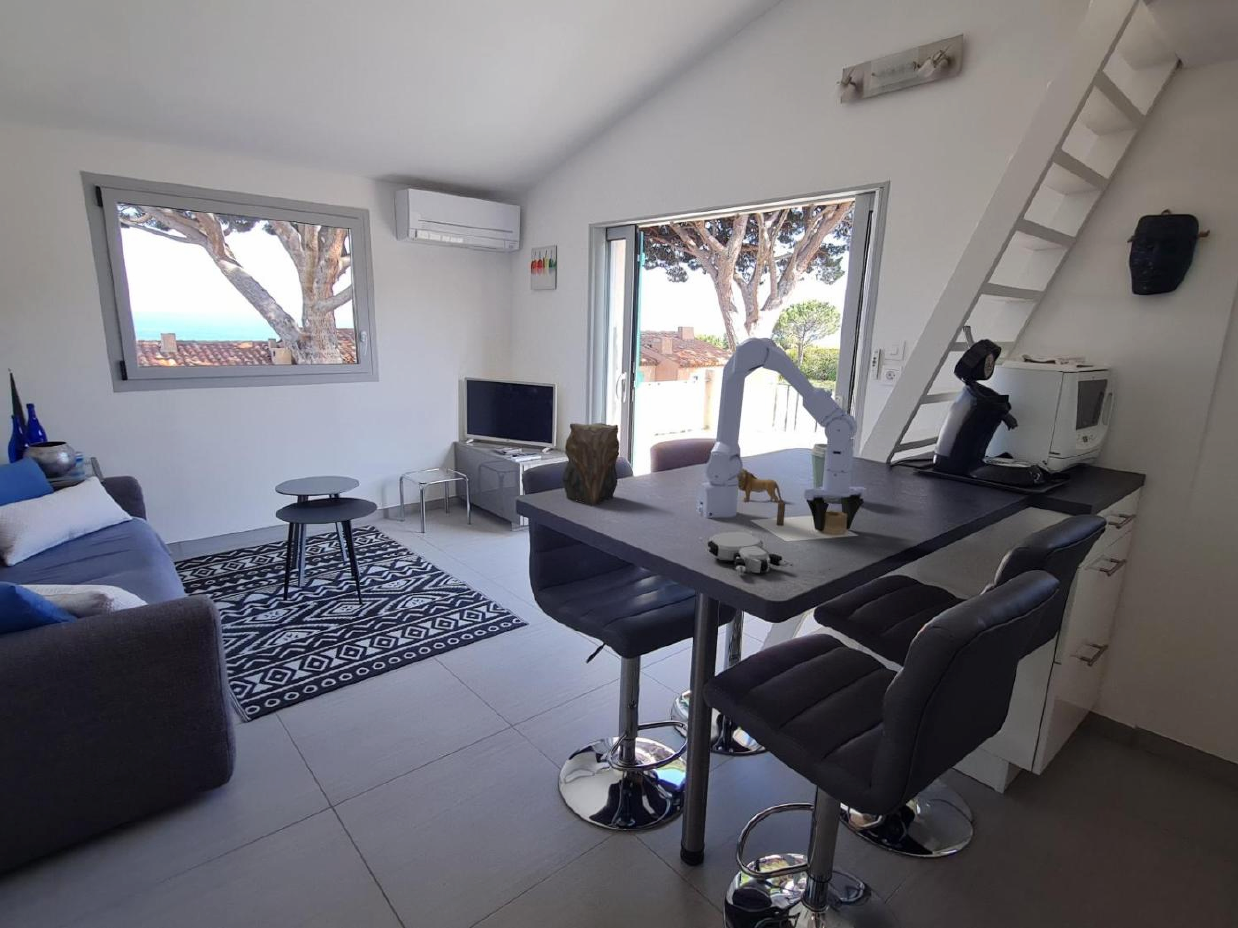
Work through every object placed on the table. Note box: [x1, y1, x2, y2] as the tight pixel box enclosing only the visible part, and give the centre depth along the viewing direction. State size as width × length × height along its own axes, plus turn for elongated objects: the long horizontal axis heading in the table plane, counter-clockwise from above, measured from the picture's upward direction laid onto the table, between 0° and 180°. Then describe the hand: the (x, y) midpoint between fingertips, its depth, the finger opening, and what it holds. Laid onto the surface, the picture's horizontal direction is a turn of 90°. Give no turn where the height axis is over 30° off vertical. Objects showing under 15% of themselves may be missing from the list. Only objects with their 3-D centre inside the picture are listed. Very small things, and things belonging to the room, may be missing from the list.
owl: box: [561, 422, 620, 506], centre depth 170 cm, size 13×13×20 cm
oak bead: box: [820, 509, 848, 535], centre depth 142 cm, size 6×6×4 cm
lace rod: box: [776, 501, 786, 526], centre depth 146 cm, size 2×2×6 cm
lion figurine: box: [737, 468, 784, 503], centre depth 170 cm, size 15×5×9 cm, turn 71°
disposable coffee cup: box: [810, 443, 840, 503], centre depth 174 cm, size 11×11×15 cm
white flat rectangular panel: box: [750, 515, 859, 542], centre depth 145 cm, size 18×16×1 cm
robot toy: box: [699, 531, 790, 574], centre depth 124 cm, size 12×4×15 cm
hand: (832, 528), depth 142 cm, fingers open, 6 cm apart
